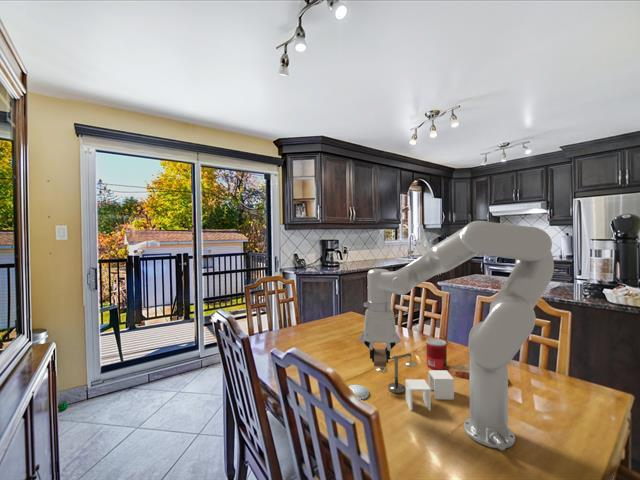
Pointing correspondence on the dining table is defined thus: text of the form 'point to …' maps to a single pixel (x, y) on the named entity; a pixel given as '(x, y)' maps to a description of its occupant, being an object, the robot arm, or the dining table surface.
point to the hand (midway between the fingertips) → (379, 360)
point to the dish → (360, 391)
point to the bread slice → (461, 371)
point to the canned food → (436, 354)
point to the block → (380, 357)
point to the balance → (396, 374)
